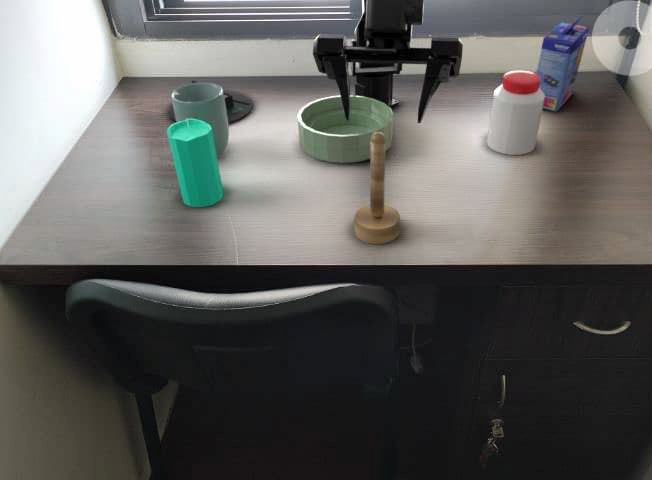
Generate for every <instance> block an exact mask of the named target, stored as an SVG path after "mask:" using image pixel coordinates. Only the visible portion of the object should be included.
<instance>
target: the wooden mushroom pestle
mask: <svg viewBox="0 0 652 480" xmlns="http://www.w3.org/2000/svg"><path fill="white" fill-rule="evenodd" d="M385 144H386V139H385V136H384V135H383V134H382V133H380V132H376V133H374V134H373V135H372V136H371V151H370V159H369V160H370V163H369V164H370V166H369V167H370V169H369V171H370V172H369V173H370V174H369V175H370V176H369V177H370V178H369V181H370V183H369V187H370V188H369V190H370V192H369V194H370V195H369V196H370V197H369V200H370V201H369V204H366V205H364V206H361V207H359V208H358V209H357V210H356V211H355V212H354V217H353V221H354V223H353V224H354V227H353V228H354V234H355V236H356V238H357V239H358V240H360V241H362V242H364V243H367V244H372V245H382V244H383V245H384V244H388V243H391V242H392V241H394V240H395V239H397V237H398V236H399V235H400V227H401V226H400V225H401V215H400V212H399V211H398V210H397V209H396V208H395V207H393V206H391V205H388V204H385V188H386V187H385V184H386V183H385V182H386V151H385Z"/></svg>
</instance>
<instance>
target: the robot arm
mask: <svg viewBox="0 0 652 480" xmlns="http://www.w3.org/2000/svg"><path fill="white" fill-rule="evenodd" d="M361 8H362V15H361V16H360V19H359V21H358V23H357V25H356V27H355V30H354V39H351V41H350V45H348V43H347V38H346V34H318V35H317V36H316V37H315V39H314V40H313V46H312V56H313V59H314V62H315V64H316V68H317V70H318V72H319V73H321V74H325V75H326V77H327V79H329V80H332V81H335V83H336V85H337V88H338V90H339V93H340V95H339V96H341V99H342V104H343V108H344V113H345V117H346V120H347V121H349V120H350V112H351V105H350V95H351V76H352V78H353V77H355V83H354V96H363V97H368V98H373V99H376V100H378V101H380V102H383V103H385V104H386V105H387V106H388V107H389V108H391V109H392V108H393V107H396V106H398V105H399V100H396V99H394V98H393V91H394V90H393V89H394V75H401V71H403V65H425V73H424V78H423V83H422V88H421V94H420V98H419V104H418V108H417V109H418V110H417V124H421V123H422V121H423V118H424V117H425V114H426V111H427V110H428V106H429V105H430V103H431V101H432V99H433V97H434V95H435V93H436V92H437V90H438V89H439V87H440V85H441V84H448V83H449V81H450V78H452V79H453V78H457V77H459V76H460V71H461V66H462V61H463V50H464V49H463V48H464V43H463V41H462V40H461V39H460V38H459V37H446V36H445V37H443V36H442V37H441V36H439V37H437V36H433V37H431V41H430V47H411V46H412V36H413V34H412V33H413V26H422V25H423V24H424V8H425V0H361ZM349 65H350V71H351V76H350V72H349Z"/></svg>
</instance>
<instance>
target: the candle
mask: <svg viewBox="0 0 652 480" xmlns="http://www.w3.org/2000/svg"><path fill="white" fill-rule="evenodd" d="M186 119H187V118H186ZM166 134H167V139H168V143H169V146H170V152H171V156H172V159H173V164H174V169H175V172H176V177H177V181H178V185H179V189H180V193H181V198H182V201H183V204H185V205H187V206H188V207H194V208H205V207H209V206H210V207H211V206H213V205H215V204H217V203H218V202H220V201H221V200H222V198H223V197H224V195H225V194H224V190H223V183H222V178H221V173H220V167H219V161H218V156H217V155H216V150H215V144H214V139H213V133H212V128H211V126H210V125H209V124H207V123H205V122H204V121H201V120H197V119H192V118H191V119H187V120H183V121H180V122H174V123H172V124H170V126H169V127H168V128H167V129H166Z"/></svg>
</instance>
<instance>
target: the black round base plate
mask: <svg viewBox="0 0 652 480" xmlns="http://www.w3.org/2000/svg"><path fill="white" fill-rule="evenodd" d="M191 83H199V82H198V81H196V80H191ZM223 93H224V97H225V103H226V110H227V116H228V125H230V124H233V123H236V122H238V121H241V120H243V119H244V118H246V117H247V116H248V115H250V113H251V112H252V111H253V107H254V105H253V101H252V100H251V99H250V98H249V97H248V96H246V95H245V94H242V93H239V92H236V91H235V92H234V91H229V90H228V91H227V90H223ZM169 116H170V118H171V120H172V121H174V123H177V122H176V118H175V114H174V109H173V104H172V105H171V107H170V108H169Z"/></svg>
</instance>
